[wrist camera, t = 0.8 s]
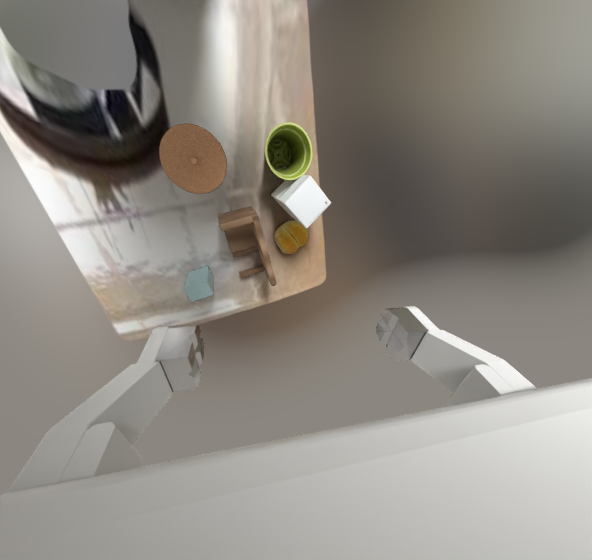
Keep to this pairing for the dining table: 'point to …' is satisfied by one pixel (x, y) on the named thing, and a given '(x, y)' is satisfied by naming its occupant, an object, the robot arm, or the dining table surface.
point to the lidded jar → (193, 158)
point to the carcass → (246, 238)
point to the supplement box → (301, 199)
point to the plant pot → (297, 146)
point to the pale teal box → (199, 284)
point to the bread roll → (291, 236)
